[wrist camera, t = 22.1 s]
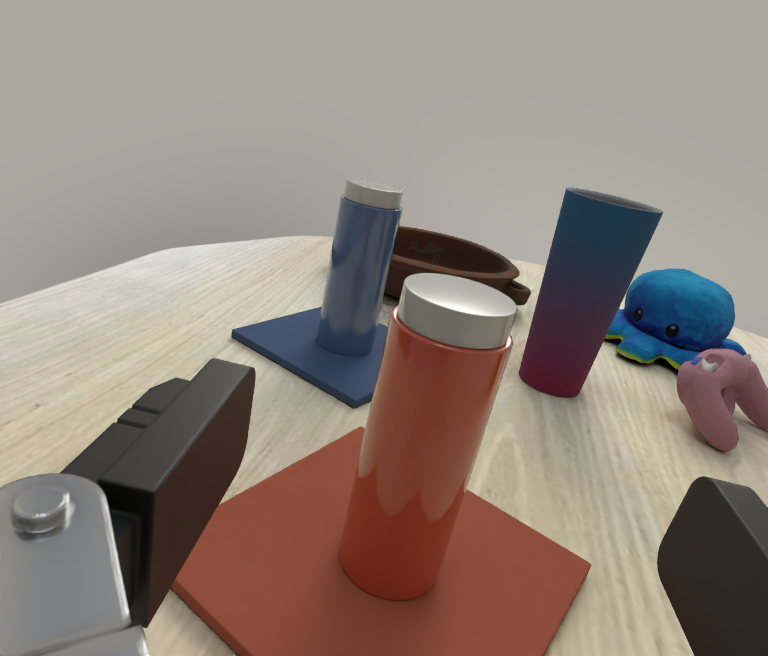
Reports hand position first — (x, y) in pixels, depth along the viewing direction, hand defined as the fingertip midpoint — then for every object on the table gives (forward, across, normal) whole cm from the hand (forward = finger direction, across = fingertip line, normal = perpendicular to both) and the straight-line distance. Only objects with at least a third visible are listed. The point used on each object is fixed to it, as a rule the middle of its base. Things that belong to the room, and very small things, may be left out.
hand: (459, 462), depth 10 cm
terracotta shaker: (+10, 0, +12) cm, 16 cm away
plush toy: (+49, -26, +13) cm, 57 cm away
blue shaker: (+30, +5, +12) cm, 33 cm away
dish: (+50, 0, +13) cm, 52 cm away
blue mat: (+30, +5, +13) cm, 33 cm away
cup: (+34, -12, +13) cm, 38 cm away
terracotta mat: (+10, 0, +13) cm, 16 cm away
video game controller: (+33, -25, +13) cm, 43 cm away
